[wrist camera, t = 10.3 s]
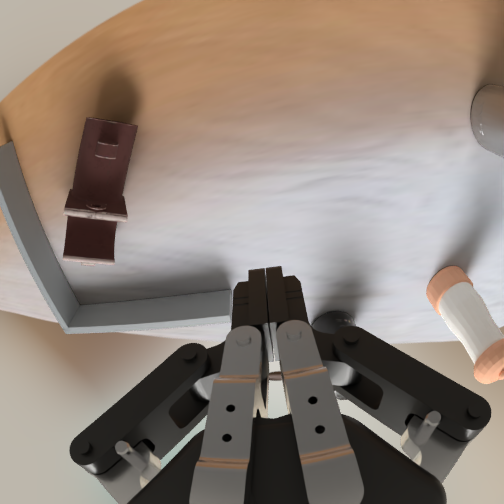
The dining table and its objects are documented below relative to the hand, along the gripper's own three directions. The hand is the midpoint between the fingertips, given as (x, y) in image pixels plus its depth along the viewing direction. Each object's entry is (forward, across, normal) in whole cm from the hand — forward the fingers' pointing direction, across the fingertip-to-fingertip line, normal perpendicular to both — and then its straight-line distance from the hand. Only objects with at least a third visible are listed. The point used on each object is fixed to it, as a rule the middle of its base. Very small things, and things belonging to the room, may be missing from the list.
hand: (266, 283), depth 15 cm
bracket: (+21, +17, 0) cm, 27 cm away
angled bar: (+21, +18, +4) cm, 28 cm away
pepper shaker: (+22, -27, +22) cm, 41 cm away
